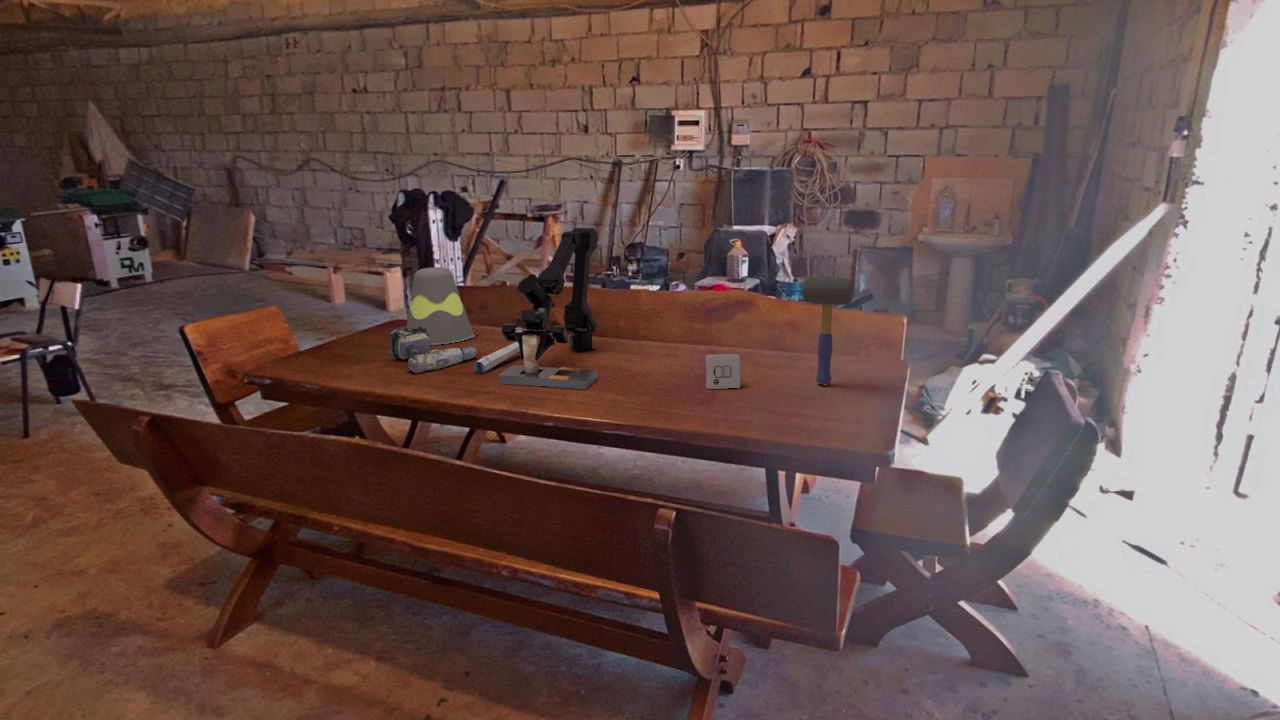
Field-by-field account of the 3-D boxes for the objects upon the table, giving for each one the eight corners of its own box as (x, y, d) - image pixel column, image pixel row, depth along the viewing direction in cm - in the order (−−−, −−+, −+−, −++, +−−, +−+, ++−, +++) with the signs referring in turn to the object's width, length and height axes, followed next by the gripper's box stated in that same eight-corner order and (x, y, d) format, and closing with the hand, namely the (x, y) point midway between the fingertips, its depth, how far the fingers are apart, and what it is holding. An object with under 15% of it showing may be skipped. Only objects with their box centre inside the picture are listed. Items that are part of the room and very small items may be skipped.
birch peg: (536, 377, 217) (533, 333, 213) (541, 380, 213) (538, 336, 210) (523, 379, 215) (520, 335, 211) (528, 383, 212) (525, 338, 208)
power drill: (379, 364, 235) (375, 330, 232) (440, 349, 251) (437, 317, 248) (418, 377, 220) (414, 341, 217) (481, 360, 237) (478, 326, 234)
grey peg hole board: (499, 383, 212) (498, 374, 211) (514, 373, 221) (513, 364, 220) (585, 389, 205) (585, 379, 204) (597, 378, 214) (596, 369, 213)
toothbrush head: (470, 360, 222) (522, 330, 241) (474, 380, 225) (526, 349, 244) (484, 362, 219) (535, 332, 239) (487, 383, 222) (538, 351, 241)
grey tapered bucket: (396, 331, 274) (388, 266, 268) (473, 323, 283) (468, 260, 277) (400, 349, 249) (392, 278, 243) (484, 340, 258) (479, 271, 252)
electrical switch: (706, 390, 203) (706, 356, 201) (704, 385, 208) (704, 352, 206) (740, 389, 203) (741, 355, 201) (738, 385, 208) (738, 352, 206)
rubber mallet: (848, 383, 205) (855, 275, 197) (844, 391, 199) (851, 279, 190) (803, 378, 210) (807, 272, 202) (797, 386, 204) (802, 277, 195)
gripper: (501, 296, 213) (488, 343, 206) (563, 298, 209) (552, 346, 202) (513, 317, 223) (501, 363, 216) (573, 319, 219) (563, 365, 212)
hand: (529, 359), depth 211 cm, fingers closed on birch peg, 4 cm apart
